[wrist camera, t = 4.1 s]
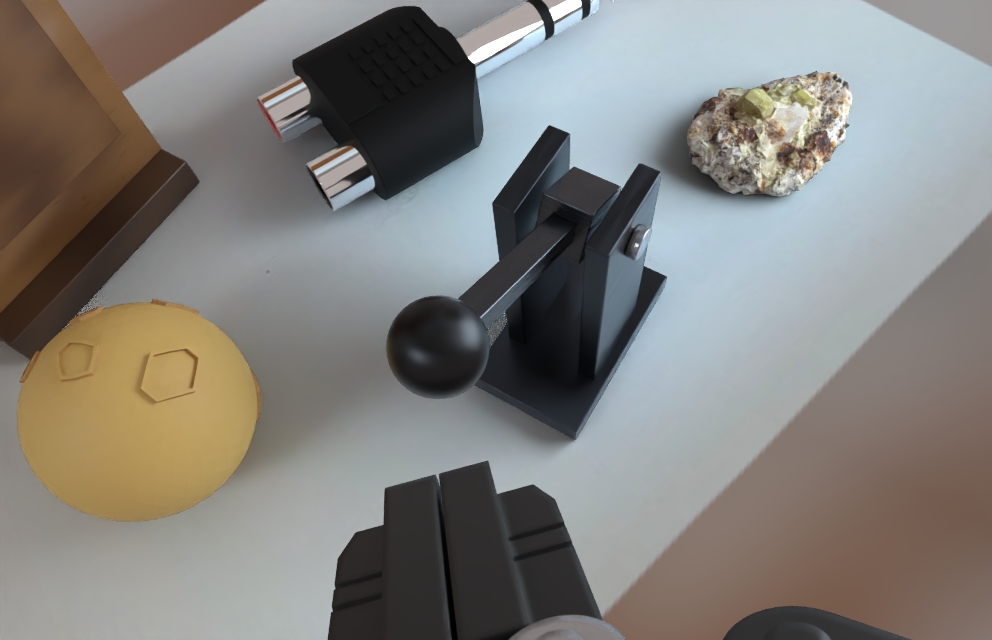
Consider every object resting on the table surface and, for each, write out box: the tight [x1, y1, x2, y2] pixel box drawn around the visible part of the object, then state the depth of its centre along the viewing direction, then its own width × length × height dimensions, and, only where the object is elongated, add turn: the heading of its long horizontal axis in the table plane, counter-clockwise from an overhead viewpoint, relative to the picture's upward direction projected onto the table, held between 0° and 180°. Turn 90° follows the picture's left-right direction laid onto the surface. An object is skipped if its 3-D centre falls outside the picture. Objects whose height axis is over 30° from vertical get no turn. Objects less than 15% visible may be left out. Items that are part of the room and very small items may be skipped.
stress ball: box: [17, 299, 261, 522], centre depth 34 cm, size 10×10×10 cm
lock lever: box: [386, 167, 621, 399], centre depth 27 cm, size 13×3×3 cm, turn 149°
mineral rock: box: [687, 71, 853, 196], centre depth 44 cm, size 11×4×8 cm
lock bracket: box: [474, 125, 667, 440], centre depth 34 cm, size 10×6×13 cm, turn 148°
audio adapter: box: [256, 0, 617, 211], centre depth 46 cm, size 11×5×25 cm
